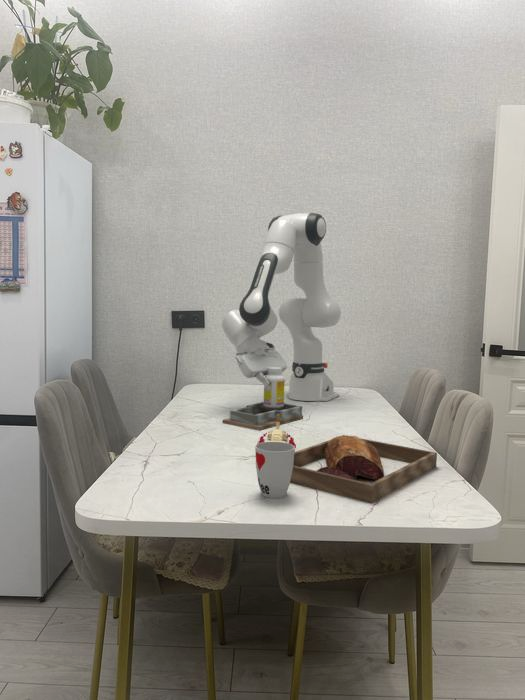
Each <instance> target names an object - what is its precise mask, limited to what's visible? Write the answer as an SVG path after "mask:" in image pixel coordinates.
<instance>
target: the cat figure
mask: <svg viewBox="0 0 525 700" xmlns="http://www.w3.org/2000/svg"><path fill="white" fill-rule="evenodd" d="M280 427H281V425H280V414H277V418H276V426H275V429H273V430H272V429H271V430H270V429H269V431H268V432H265V433H263V435H261V436H260V437H259V441H257V443H256V444H259V443H262V442H265V439H264V437H267V439H269V440H267V441H266V442H284V443H286V440H287V439H288V443H289V444H292V445H293V446H295V449H296V448H297V447H296V446H297V444H296V443H295V439H294V437H293V436H291V434H289V433H287V431H286V430H281V428H280ZM294 452H296V450H295V451H294Z"/></svg>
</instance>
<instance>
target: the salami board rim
mask: <svg viewBox="0 0 525 700" xmlns="http://www.w3.org/2000/svg"><path fill="white" fill-rule="evenodd" d="M342 436H346V435H345V434H344V435H342ZM359 438H360V439H362V440H364V441H366V442H368V443H370V444H371V445H373V446H374V447H375V449H376V450H377V451H378V453H379V456H380V458H386V459H390V460H394V461H398V462H399V461H400V462H404V463H405V462H406V463H408V464H407V465H405V466H403V467H401V468H399V469H397V470H395V471H393V472H391V473H389V474H387V475H384V477H383V478H381V479H379V480H377V481H375V480H374V481H373V482H371V483H369V482H364V481H360V480H358V479H357V480H358V481H357V480H352V479H348V478H344V477H340V476H335V475H331V474H327V473H323V472H319V471H317V470H313V469H309V468H306V467H302V466H304V465H307V464H309V463H313V462H315V461H318V460H320V459H323V458H326V456H325V448H327V447H328V442H329V441H330V440H331V439H329V440H326V441H325V440H324V441H323V442H320V443H317V444H314V445H312V446H308V447H305V448H302V449H300V450H297V451H295V452H294V462H293V470H292V475H291V480H290V483H292V484H296V485H300V486H305V487H308V488H312V489H317V490H319V491H324V492H328V493H331V494H335V495H338V496H342V497H346V498H350V499H354V500H358V501H363V502H366V503H370V504H373V503H374V502H375V503H376V502H377V501H379V499H382V498H384V497H386V496H387V495H389V494H391V493H392V492H395V491H396V490H398V489H400V488H401V487H403V486H406V485H407V484H408V483H410V482H412V481H414V480H416V479H417V478H419V477H421V476H422V475H424V474H426V473H428V472H429V471H432V470H433V469H435V468H437V463H438V462H437V456H438V453H437V452H436V451H429V450H425V449H419V448H415V447H410V446H409V447H408V446H404V445H399V444H398V445H397V444H394V443H393V444H391V443H387V442H382V441H376V440H371V439H366V438H361V437H359Z"/></svg>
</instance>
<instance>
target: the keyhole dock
mask: <svg viewBox="0 0 525 700" xmlns="http://www.w3.org/2000/svg"><path fill="white" fill-rule="evenodd" d="M277 414H280V426H282V425H285V424H287V423H292V422H295V421H299V420H303V419H304V415H303V406H302V405H296V404H289V403H284V406H283V407H281V408H268V407H265V406H264V401H262V402H257V403H253V404H248V405H245V407H243V408H237V409H233V410H230V411H229V417H228V418H225V419H222V421H221V423H222V424H226V425H231V426H235V427H236V426H237V427H240V428H241V427H242V428H246V429H249V430H250V429H251V430H254V431H255V430H256V431H263V430H266V429H270V428H273V427H276V418H277Z"/></svg>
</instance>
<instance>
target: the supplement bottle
mask: <svg viewBox="0 0 525 700" xmlns="http://www.w3.org/2000/svg"><path fill="white" fill-rule="evenodd" d="M267 371H268V375H266V376H264V377H265V378H266V379H269V381H270V382H271V384H270V385H269V386H264V385H263V386H264V387H263V402H264V406H265V407H268V408H281V407H283V406H284V404H285V382H284V379H285V377H284V375H283V376H282V375H281V372H282V368H280V367H268V370H267Z"/></svg>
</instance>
